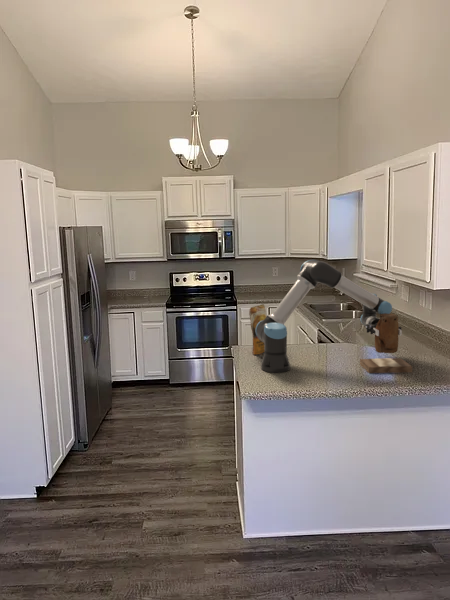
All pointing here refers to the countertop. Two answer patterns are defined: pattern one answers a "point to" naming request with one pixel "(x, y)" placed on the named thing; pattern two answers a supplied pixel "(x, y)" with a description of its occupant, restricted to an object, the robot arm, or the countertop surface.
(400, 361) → the plinth
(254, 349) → the pancake mix bag
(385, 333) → the catalogued terracotta fragment
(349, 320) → the countertop surface
